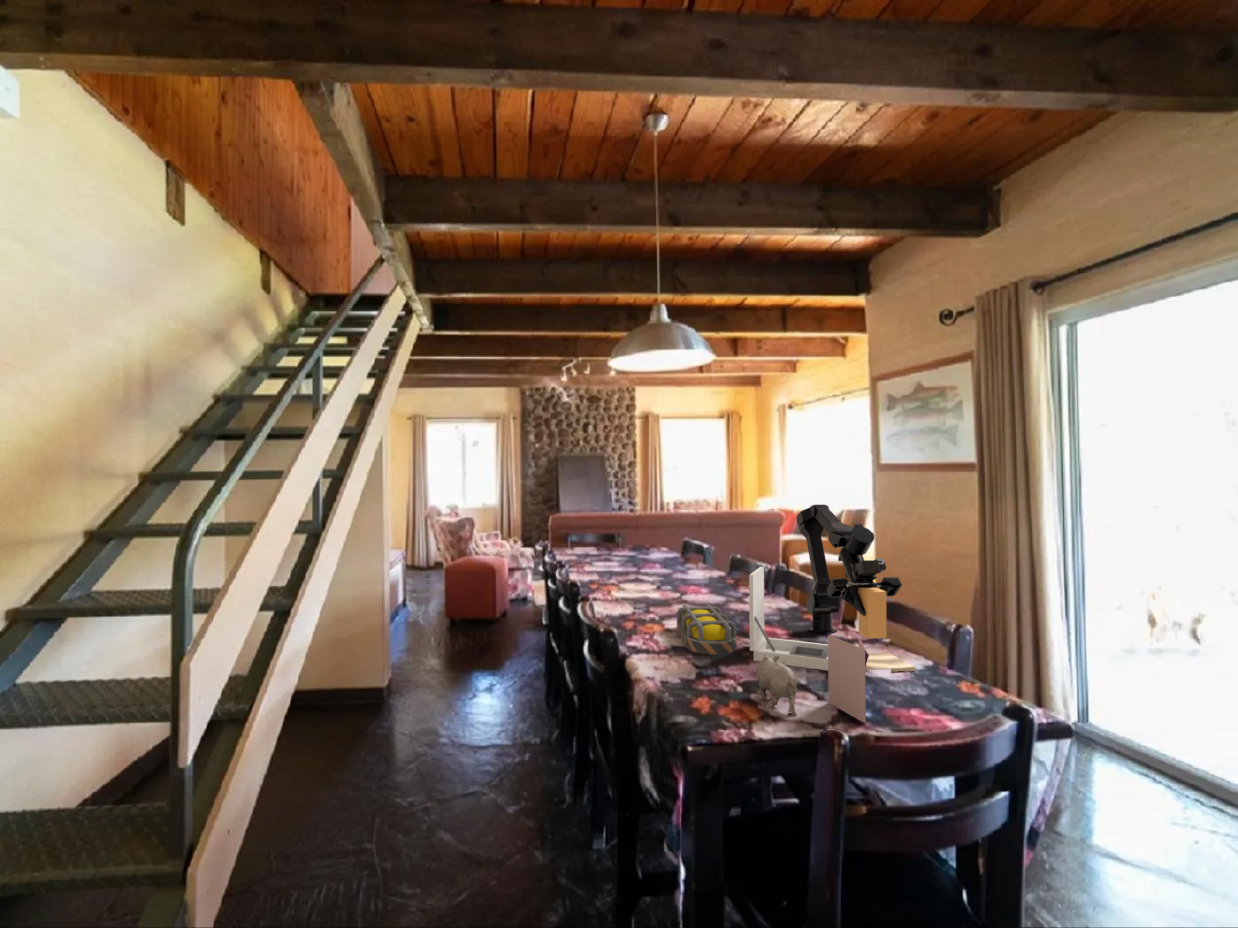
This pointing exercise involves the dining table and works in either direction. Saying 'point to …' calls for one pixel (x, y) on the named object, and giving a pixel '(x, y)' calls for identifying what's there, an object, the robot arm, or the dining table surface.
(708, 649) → the cage light
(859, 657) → the greeting card
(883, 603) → the block
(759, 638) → the equipment case
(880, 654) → the wooden board
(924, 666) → the dining table surface
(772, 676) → the rhinoceros figurine
